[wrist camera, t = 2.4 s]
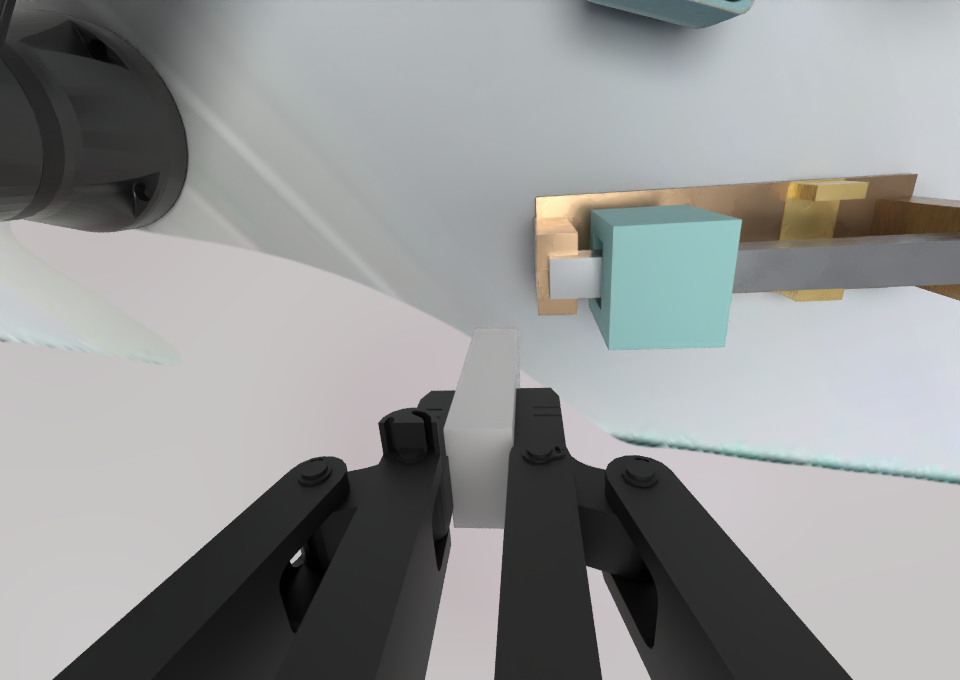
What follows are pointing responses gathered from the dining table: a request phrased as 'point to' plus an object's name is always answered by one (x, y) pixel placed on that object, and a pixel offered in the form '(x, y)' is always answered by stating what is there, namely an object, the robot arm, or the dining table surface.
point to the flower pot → (683, 10)
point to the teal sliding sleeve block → (664, 276)
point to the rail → (774, 238)
